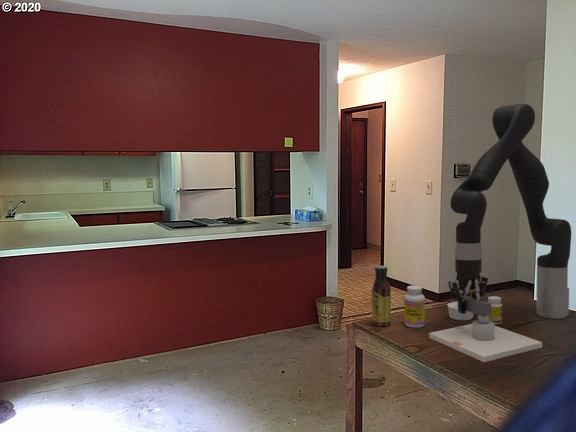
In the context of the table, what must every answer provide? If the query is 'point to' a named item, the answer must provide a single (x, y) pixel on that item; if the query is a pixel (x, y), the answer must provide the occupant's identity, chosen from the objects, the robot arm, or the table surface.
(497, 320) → the supplement bottle
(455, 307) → the ramekin
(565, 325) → the table surface
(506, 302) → the table surface
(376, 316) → the sauce bottle
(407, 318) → the supplement bottle
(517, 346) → the base
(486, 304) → the handle
